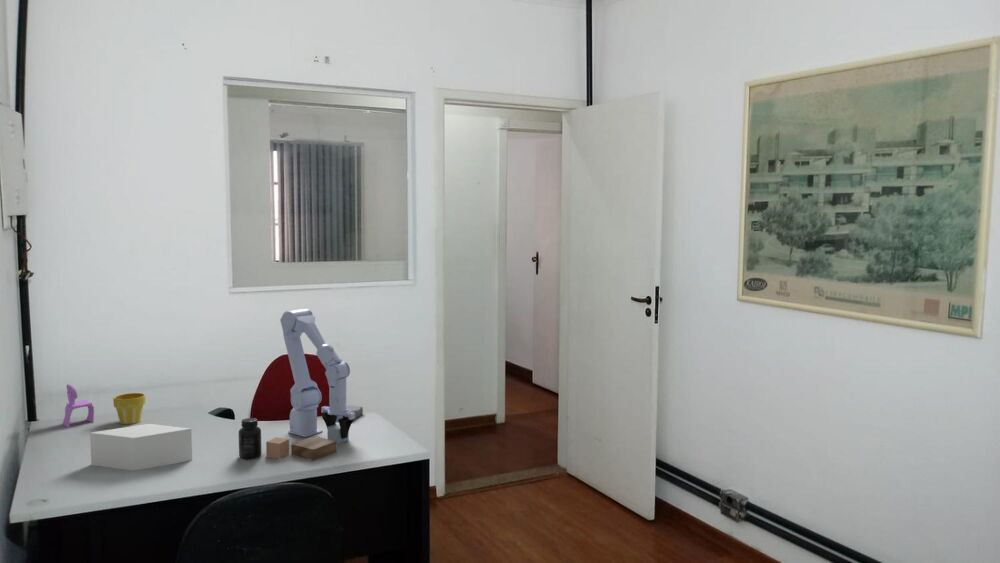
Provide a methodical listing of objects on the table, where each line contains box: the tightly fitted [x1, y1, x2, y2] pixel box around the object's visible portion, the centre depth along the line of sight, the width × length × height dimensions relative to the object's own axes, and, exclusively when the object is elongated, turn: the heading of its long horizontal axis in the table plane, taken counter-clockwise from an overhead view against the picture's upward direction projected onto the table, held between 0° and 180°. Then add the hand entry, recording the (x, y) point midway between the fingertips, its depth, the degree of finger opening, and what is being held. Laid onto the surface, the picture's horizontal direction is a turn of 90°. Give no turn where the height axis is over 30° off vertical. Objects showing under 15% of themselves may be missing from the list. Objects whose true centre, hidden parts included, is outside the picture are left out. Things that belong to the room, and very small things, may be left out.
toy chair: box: [61, 383, 95, 428], centre depth 254 cm, size 8×9×15 cm
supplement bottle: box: [238, 417, 263, 461], centre depth 222 cm, size 7×7×12 cm
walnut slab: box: [291, 435, 337, 462], centre depth 226 cm, size 10×10×4 cm
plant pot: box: [112, 392, 146, 425], centre depth 257 cm, size 10×10×10 cm
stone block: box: [336, 404, 364, 422], centre depth 268 cm, size 12×5×10 cm
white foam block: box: [89, 423, 193, 472], centre depth 215 cm, size 14×29×10 cm, turn 101°
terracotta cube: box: [265, 436, 290, 460], centre depth 224 cm, size 5×5×5 cm
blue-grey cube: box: [326, 422, 350, 445], centre depth 240 cm, size 5×5×5 cm
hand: (338, 436), depth 240 cm, fingers open, 6 cm apart
